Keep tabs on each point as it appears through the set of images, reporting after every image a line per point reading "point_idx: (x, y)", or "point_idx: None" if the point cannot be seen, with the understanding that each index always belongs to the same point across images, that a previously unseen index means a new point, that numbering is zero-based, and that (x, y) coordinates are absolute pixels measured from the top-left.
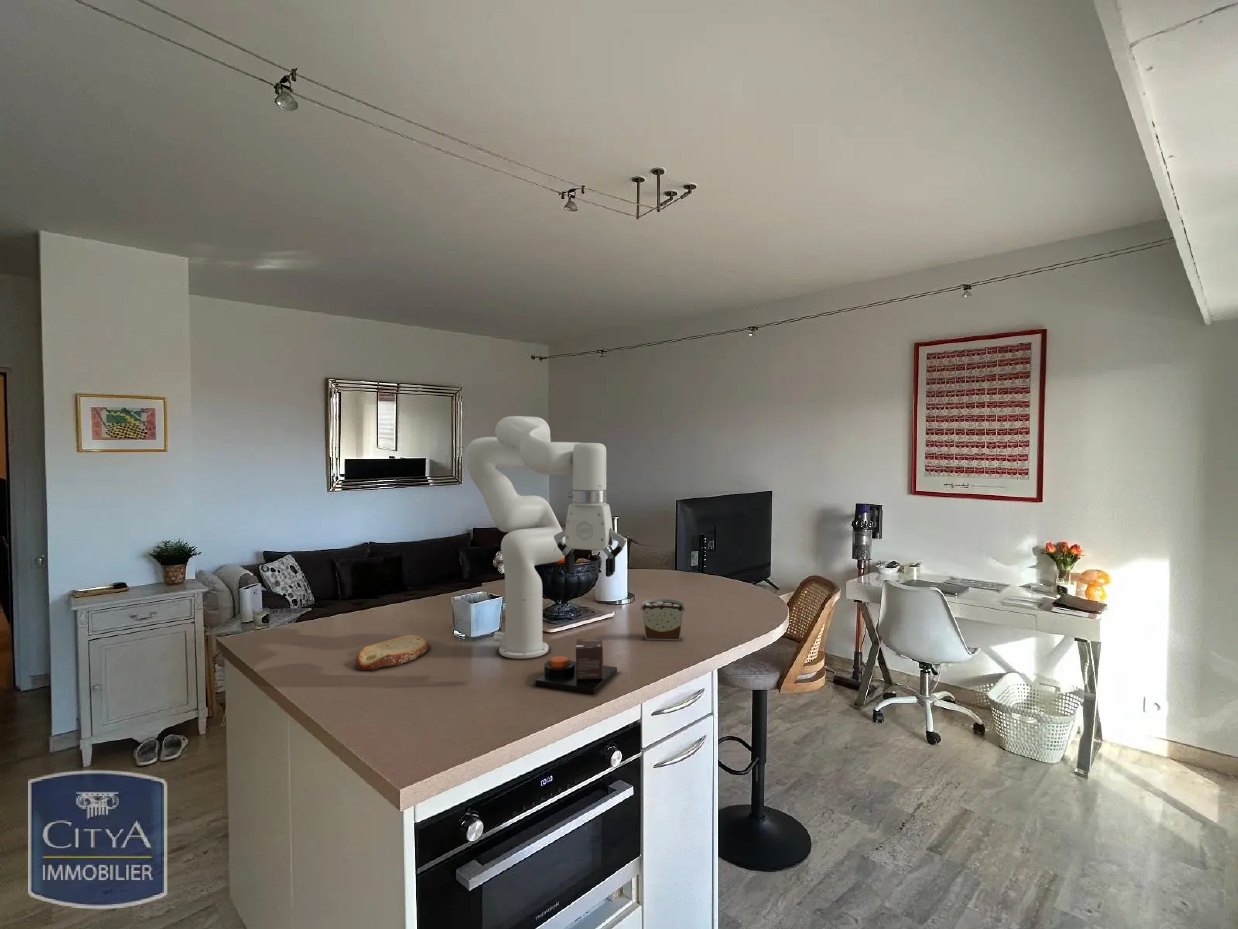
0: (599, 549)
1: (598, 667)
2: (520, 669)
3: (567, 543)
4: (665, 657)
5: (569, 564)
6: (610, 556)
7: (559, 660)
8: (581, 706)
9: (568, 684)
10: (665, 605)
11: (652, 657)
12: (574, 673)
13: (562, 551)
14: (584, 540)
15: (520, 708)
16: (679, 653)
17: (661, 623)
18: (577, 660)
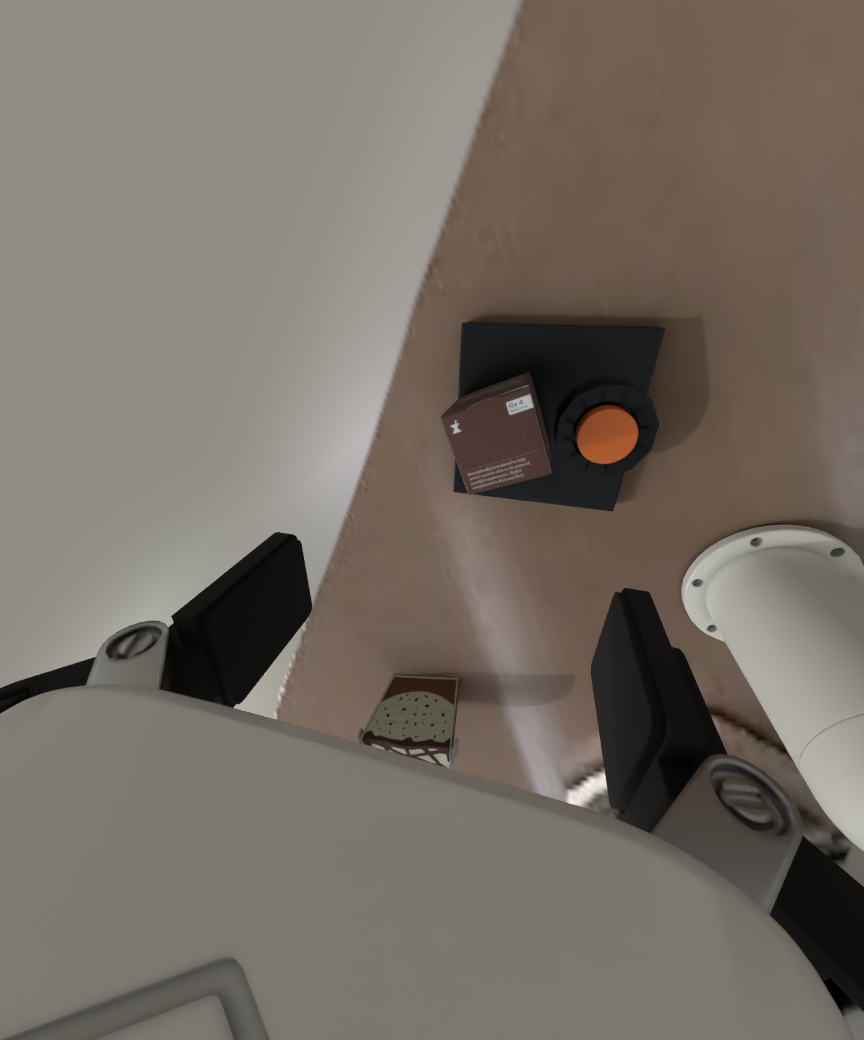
0: (115, 685)
1: (464, 398)
2: (745, 451)
3: (776, 998)
4: (388, 591)
5: (627, 656)
6: (142, 643)
7: (603, 424)
8: (472, 224)
9: (544, 327)
10: (397, 746)
11: (412, 588)
12: (550, 419)
13: (805, 852)
14: (233, 960)
15: (670, 104)
16: (371, 614)
17: (417, 706)
18: (525, 380)
